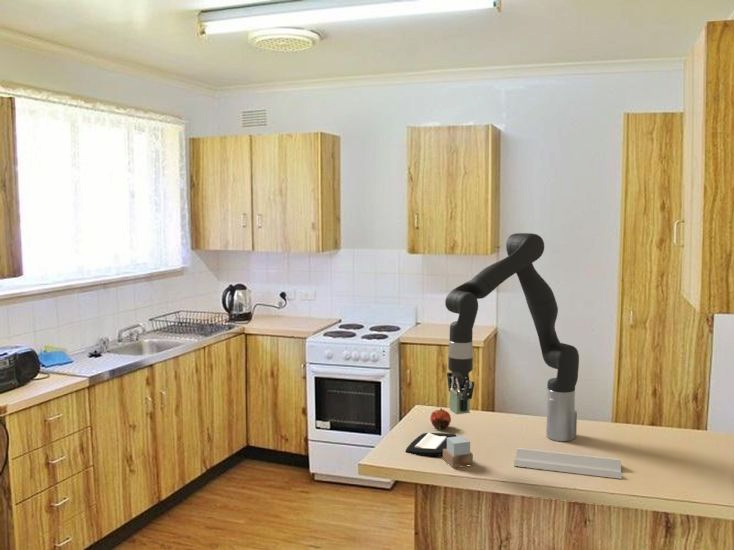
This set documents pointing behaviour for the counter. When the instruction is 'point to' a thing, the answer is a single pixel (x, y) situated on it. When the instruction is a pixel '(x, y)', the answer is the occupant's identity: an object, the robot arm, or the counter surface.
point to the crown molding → (568, 463)
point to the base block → (457, 459)
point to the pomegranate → (440, 418)
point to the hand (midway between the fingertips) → (459, 408)
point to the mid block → (458, 445)
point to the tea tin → (457, 401)
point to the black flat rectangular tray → (429, 444)
